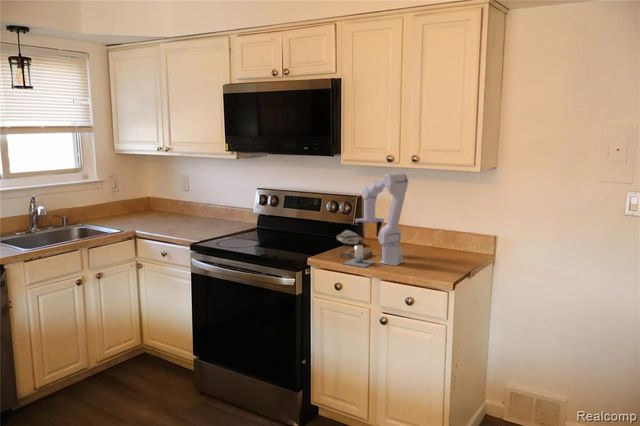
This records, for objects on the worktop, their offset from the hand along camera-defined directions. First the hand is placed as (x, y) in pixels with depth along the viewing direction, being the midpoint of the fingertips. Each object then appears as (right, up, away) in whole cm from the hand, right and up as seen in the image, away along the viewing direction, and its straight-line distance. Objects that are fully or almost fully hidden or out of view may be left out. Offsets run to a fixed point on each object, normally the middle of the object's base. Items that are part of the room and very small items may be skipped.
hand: (369, 236), depth 263 cm
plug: (-7, -12, -16) cm, 21 cm away
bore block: (-7, -10, -2) cm, 12 cm away
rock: (-8, -6, +26) cm, 27 cm away
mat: (-7, -12, -16) cm, 22 cm away
